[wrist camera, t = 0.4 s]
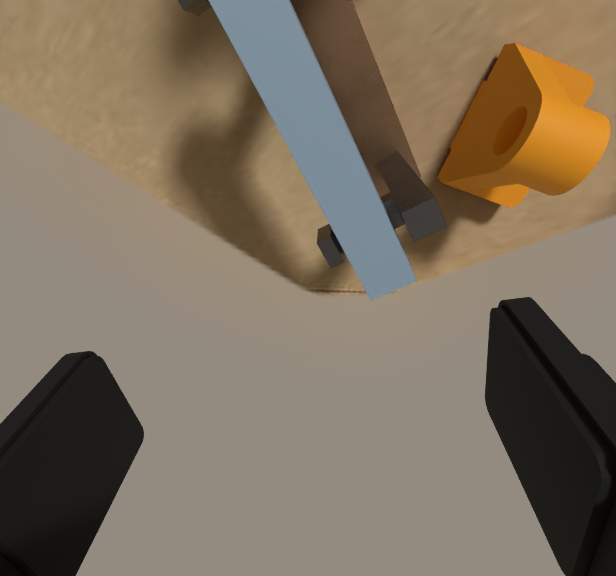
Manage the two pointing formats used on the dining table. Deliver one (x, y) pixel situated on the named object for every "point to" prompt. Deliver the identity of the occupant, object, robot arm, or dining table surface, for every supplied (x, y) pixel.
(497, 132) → the bracket
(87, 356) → the robot arm
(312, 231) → the dining table surface
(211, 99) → the dining table surface
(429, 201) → the stand
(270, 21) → the rail
